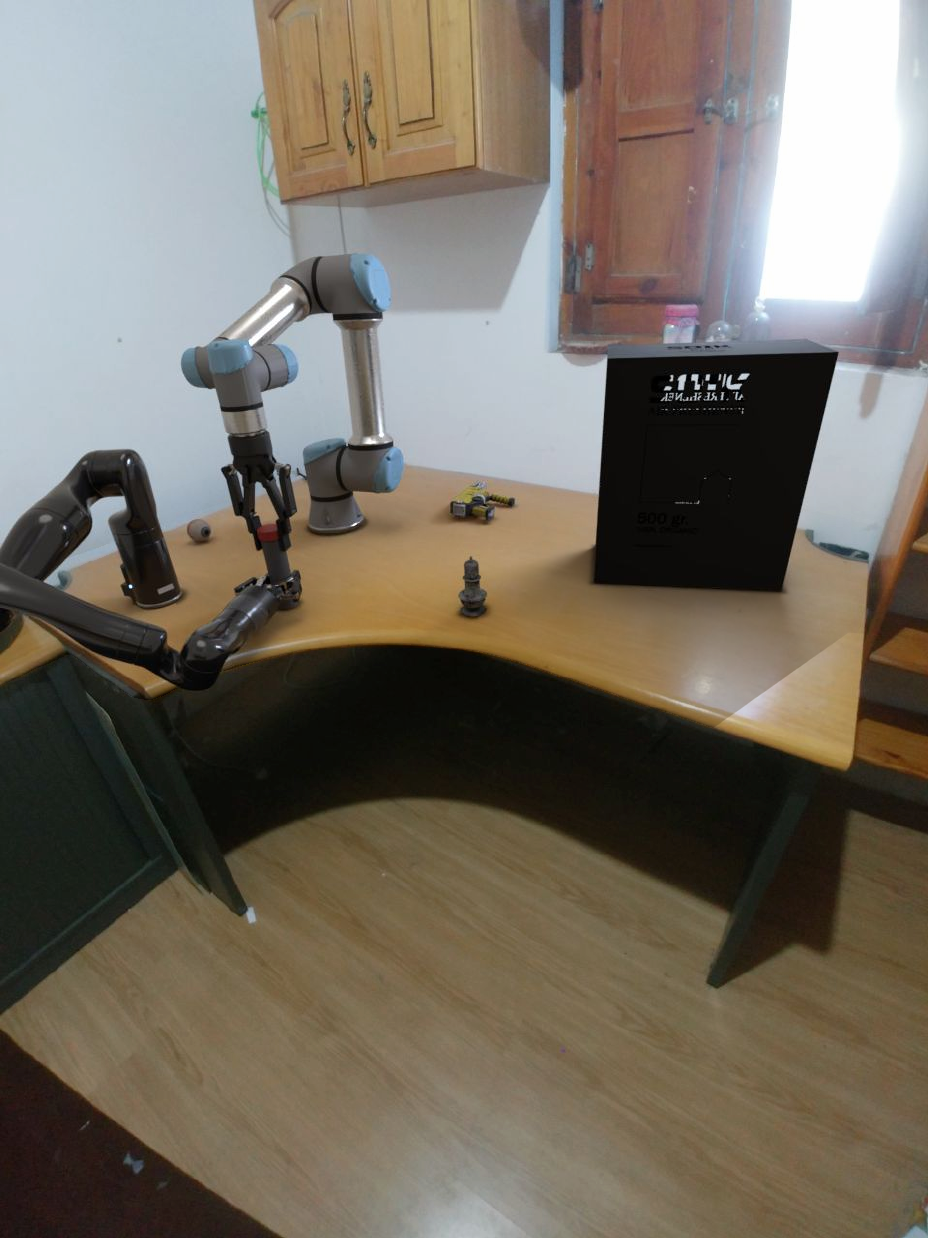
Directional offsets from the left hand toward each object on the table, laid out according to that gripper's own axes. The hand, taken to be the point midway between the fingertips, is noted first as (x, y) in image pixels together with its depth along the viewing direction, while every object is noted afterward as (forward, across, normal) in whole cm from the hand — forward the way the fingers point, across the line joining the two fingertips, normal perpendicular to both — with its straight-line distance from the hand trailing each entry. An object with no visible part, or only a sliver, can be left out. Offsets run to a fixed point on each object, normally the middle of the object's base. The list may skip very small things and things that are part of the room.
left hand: (286, 573), depth 129 cm
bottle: (-3, 0, -6) cm, 7 cm away
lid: (-3, 0, +11) cm, 11 cm away
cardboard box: (+22, +84, -6) cm, 87 cm away
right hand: (-3, 0, +7) cm, 8 cm away
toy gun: (+59, +35, -6) cm, 69 cm away
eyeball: (+30, -40, -6) cm, 50 cm away
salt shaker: (-2, +40, -6) cm, 41 cm away
